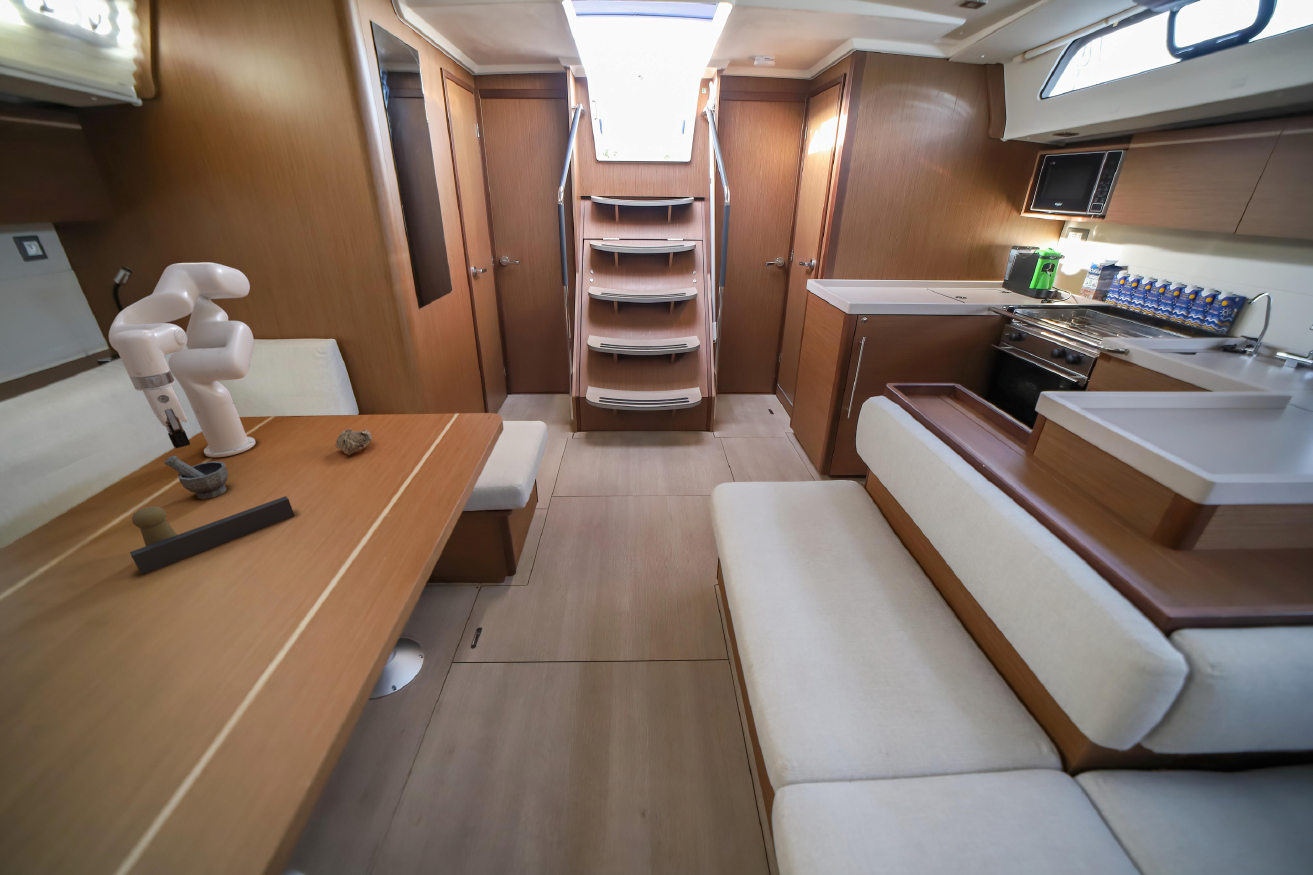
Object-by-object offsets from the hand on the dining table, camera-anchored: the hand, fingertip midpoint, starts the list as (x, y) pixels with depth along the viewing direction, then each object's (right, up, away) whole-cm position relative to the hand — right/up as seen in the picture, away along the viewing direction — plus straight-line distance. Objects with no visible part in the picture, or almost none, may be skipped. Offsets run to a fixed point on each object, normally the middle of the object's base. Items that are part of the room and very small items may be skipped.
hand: (182, 445), depth 133 cm
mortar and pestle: (+7, -13, 0) cm, 15 cm away
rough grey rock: (+33, -2, +23) cm, 40 cm away
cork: (+18, -23, -22) cm, 36 cm away
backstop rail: (+27, -22, -18) cm, 39 cm away
